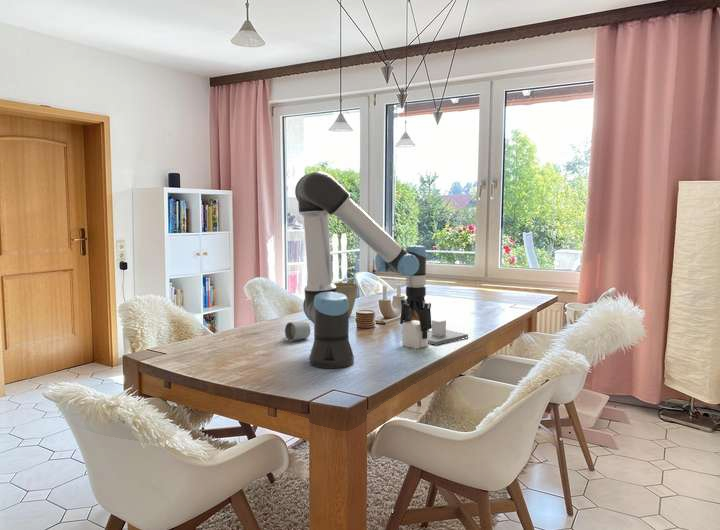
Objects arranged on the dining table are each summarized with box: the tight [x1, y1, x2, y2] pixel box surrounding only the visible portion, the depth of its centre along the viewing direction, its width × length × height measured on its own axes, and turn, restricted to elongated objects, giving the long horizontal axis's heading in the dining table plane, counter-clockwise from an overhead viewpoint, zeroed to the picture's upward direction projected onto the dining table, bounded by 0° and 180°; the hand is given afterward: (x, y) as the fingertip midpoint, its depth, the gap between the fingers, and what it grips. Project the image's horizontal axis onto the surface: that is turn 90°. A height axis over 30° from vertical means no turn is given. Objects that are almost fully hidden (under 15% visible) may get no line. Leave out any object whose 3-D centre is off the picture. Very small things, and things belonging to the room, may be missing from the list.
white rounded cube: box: [401, 320, 429, 350], centre depth 201 cm, size 7×7×9 cm
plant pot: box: [332, 282, 358, 317], centre depth 261 cm, size 15×15×16 cm
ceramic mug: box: [284, 321, 311, 342], centre depth 212 cm, size 11×8×8 cm
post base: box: [428, 318, 469, 346], centre depth 213 cm, size 20×14×8 cm
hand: (415, 344), depth 201 cm, fingers closed on white rounded cube, 7 cm apart
